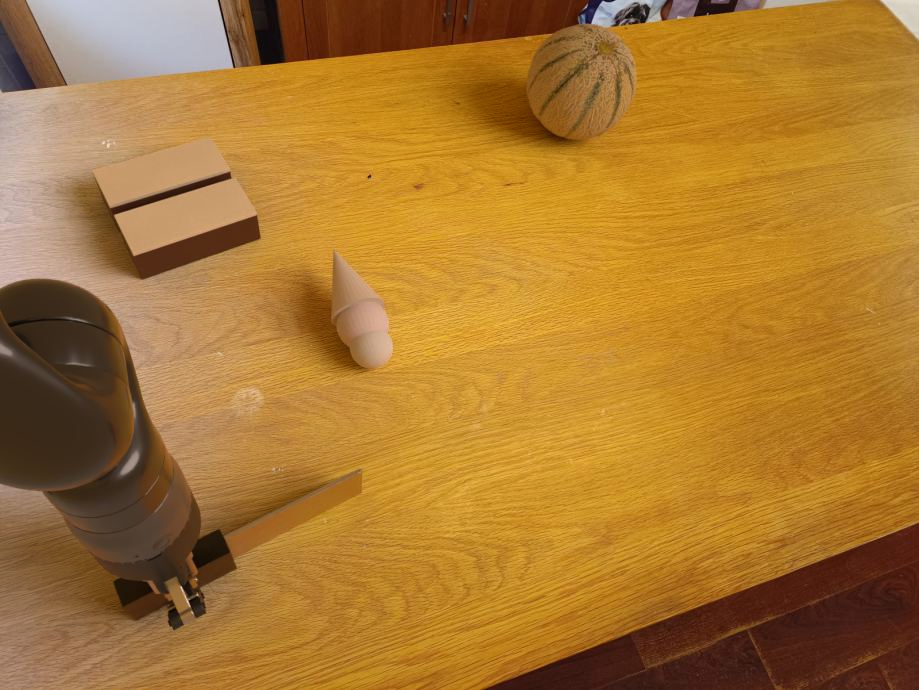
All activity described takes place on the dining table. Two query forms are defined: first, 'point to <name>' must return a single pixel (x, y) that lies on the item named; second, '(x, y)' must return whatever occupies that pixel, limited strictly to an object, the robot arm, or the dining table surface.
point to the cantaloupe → (581, 81)
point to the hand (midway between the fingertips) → (182, 581)
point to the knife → (240, 542)
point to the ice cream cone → (359, 316)
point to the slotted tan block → (177, 206)
